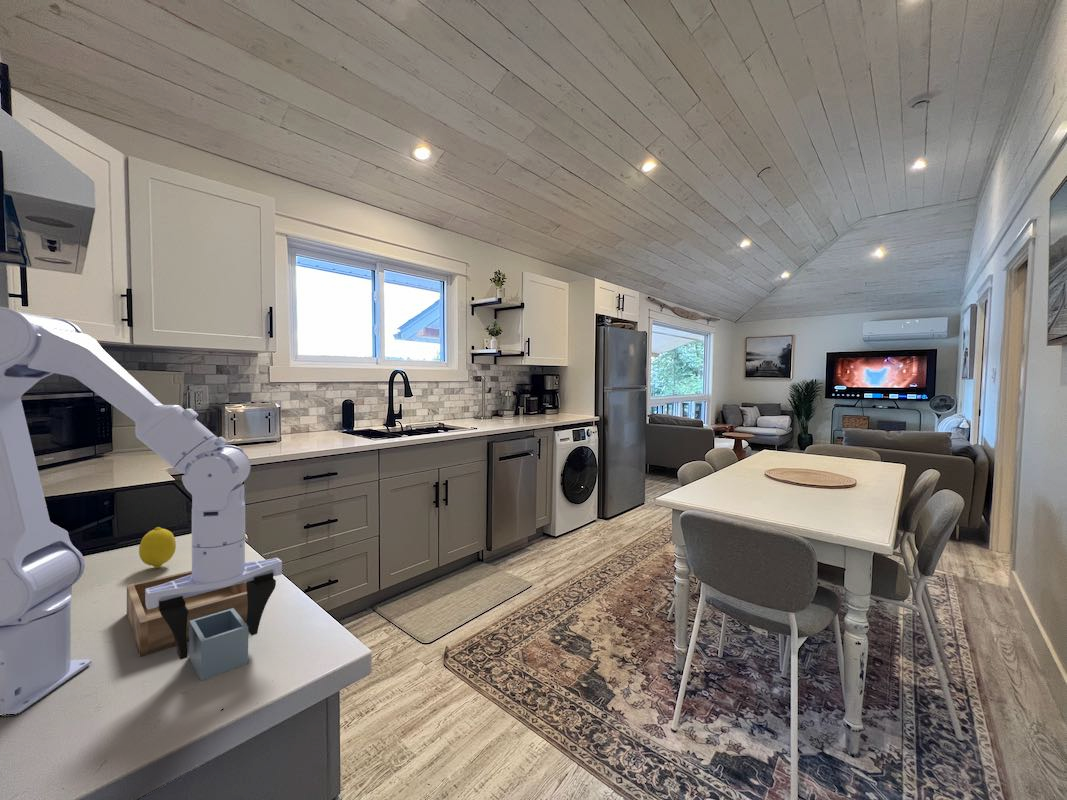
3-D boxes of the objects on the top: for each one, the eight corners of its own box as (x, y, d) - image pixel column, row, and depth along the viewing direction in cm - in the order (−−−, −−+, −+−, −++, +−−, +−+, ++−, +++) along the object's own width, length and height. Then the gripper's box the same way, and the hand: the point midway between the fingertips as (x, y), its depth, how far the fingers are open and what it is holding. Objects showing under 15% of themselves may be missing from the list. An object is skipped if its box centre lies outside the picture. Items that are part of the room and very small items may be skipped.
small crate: (248, 664, 58) (248, 626, 58) (201, 682, 55) (201, 641, 55) (233, 643, 63) (233, 607, 63) (189, 658, 60) (189, 620, 60)
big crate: (259, 618, 70) (259, 590, 70) (139, 656, 59) (140, 622, 59) (231, 586, 81) (231, 561, 80) (126, 613, 70) (126, 585, 70)
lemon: (154, 574, 85) (154, 532, 85) (131, 571, 86) (131, 530, 86) (182, 563, 90) (183, 524, 90) (160, 561, 91) (160, 522, 91)
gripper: (270, 522, 67) (270, 613, 67) (141, 546, 56) (142, 653, 56) (287, 533, 62) (287, 630, 62) (149, 561, 51) (150, 678, 52)
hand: (219, 643), depth 59 cm, fingers open, 7 cm apart
